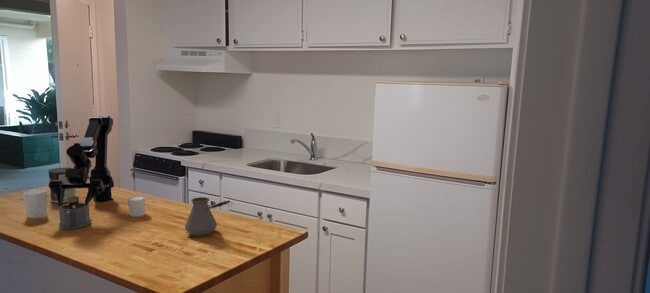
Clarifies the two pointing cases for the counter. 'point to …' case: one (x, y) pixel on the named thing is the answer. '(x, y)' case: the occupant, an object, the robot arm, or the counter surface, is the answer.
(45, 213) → the white cup
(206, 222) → the coffee pot
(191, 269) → the counter surface
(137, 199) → the shot glass
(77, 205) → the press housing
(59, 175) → the coffee can
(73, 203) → the plunger
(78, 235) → the counter surface
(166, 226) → the counter surface
